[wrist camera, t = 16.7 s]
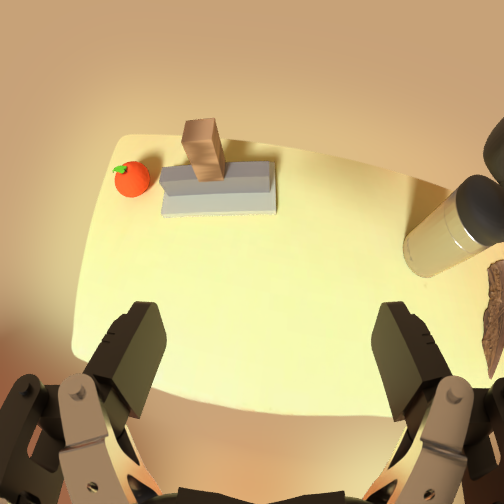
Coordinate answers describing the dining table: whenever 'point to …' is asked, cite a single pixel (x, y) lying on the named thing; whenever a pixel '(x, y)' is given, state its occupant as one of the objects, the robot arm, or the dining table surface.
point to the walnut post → (204, 149)
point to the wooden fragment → (494, 317)
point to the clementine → (131, 179)
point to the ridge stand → (220, 191)
